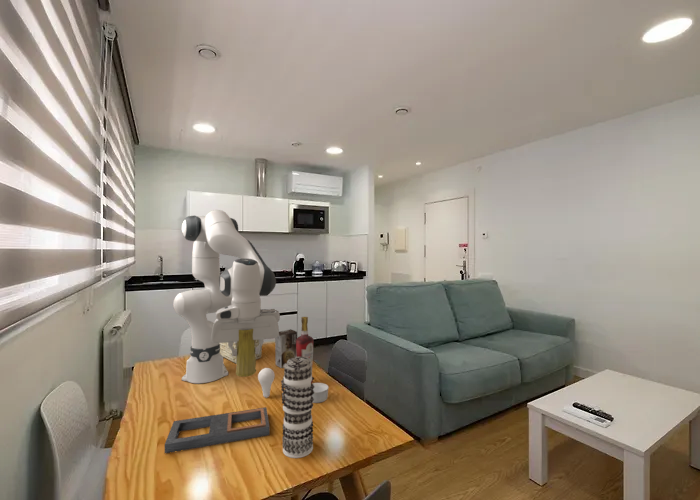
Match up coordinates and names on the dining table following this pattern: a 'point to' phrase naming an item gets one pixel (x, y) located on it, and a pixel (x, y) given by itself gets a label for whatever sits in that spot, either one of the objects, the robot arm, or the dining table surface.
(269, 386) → the lightbulb
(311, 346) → the liquor
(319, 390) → the ramekin
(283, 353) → the coffee box
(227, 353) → the storage basket
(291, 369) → the decorative candle
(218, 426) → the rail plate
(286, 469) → the dining table surface
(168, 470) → the dining table surface
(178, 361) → the dining table surface
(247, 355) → the vase
